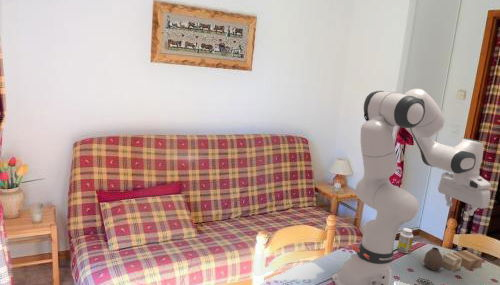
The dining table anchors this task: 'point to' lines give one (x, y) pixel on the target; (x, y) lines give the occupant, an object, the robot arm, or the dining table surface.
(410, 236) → the supplement bottle
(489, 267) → the dining table surface
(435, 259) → the vase
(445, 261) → the maple cube
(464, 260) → the walnut block
